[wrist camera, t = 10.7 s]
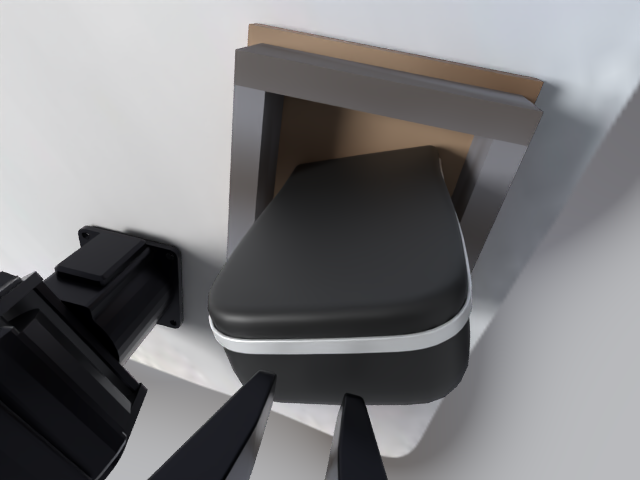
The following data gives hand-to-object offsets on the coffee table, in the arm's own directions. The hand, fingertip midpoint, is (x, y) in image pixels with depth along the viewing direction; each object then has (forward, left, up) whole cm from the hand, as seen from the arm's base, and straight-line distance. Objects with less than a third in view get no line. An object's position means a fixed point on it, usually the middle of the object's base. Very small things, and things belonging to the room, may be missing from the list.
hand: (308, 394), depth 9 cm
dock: (0, 0, -13) cm, 13 cm away
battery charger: (0, 0, -12) cm, 12 cm away
